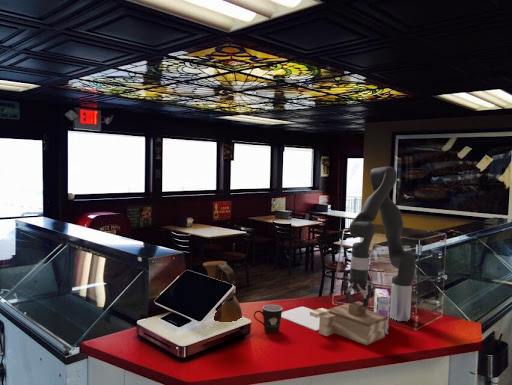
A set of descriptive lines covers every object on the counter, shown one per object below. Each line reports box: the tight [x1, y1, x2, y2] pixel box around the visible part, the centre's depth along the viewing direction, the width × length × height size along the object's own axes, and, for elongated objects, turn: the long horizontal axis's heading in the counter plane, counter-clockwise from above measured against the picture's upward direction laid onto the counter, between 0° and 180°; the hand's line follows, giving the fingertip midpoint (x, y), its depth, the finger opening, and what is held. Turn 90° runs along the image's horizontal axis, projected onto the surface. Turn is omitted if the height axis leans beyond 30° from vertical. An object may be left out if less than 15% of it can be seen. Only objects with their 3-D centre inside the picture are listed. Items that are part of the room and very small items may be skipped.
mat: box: [281, 306, 320, 332], centre depth 206 cm, size 20×25×1 cm
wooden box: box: [318, 313, 386, 346], centre depth 186 cm, size 20×20×8 cm
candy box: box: [373, 288, 391, 335], centre depth 196 cm, size 14×6×16 cm, turn 168°
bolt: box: [310, 307, 329, 318], centre depth 183 cm, size 8×4×2 cm, turn 133°
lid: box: [327, 300, 388, 327], centre depth 188 cm, size 15×21×6 cm
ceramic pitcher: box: [202, 260, 243, 322], centre depth 184 cm, size 20×20×30 cm
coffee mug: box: [253, 304, 284, 334], centre depth 188 cm, size 12×9×10 cm
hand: (356, 303), depth 188 cm, fingers open, 8 cm apart
